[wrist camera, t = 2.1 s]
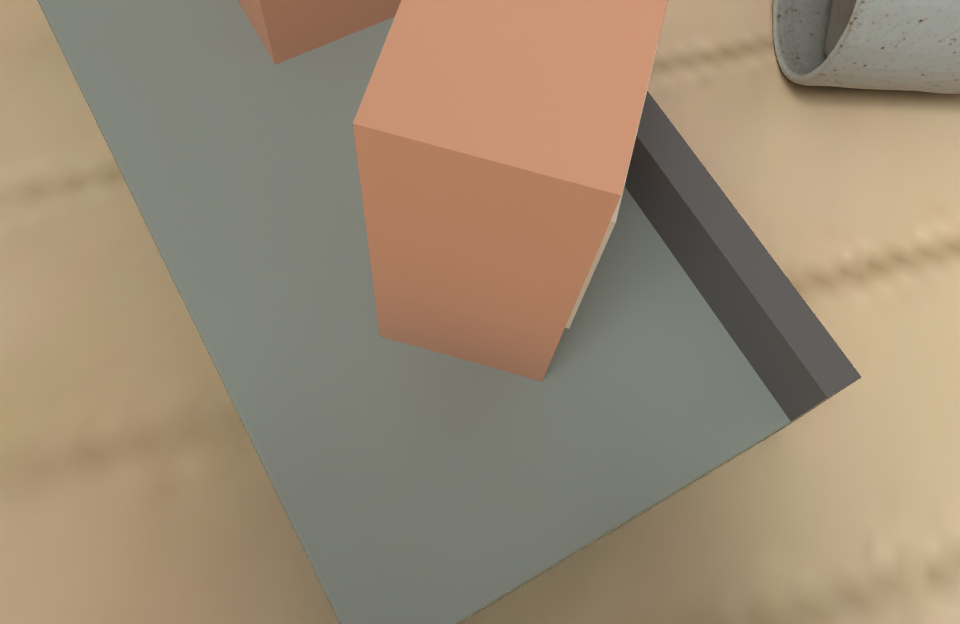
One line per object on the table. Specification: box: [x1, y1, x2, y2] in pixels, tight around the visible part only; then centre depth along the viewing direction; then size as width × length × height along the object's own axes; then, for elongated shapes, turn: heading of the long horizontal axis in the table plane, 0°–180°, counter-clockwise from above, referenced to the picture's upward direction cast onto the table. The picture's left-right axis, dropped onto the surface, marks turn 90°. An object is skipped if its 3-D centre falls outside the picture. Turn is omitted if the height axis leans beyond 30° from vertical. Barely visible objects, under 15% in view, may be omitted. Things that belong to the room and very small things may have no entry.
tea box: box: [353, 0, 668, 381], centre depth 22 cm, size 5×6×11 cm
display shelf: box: [38, 0, 861, 624], centre depth 28 cm, size 16×27×6 cm, turn 30°
